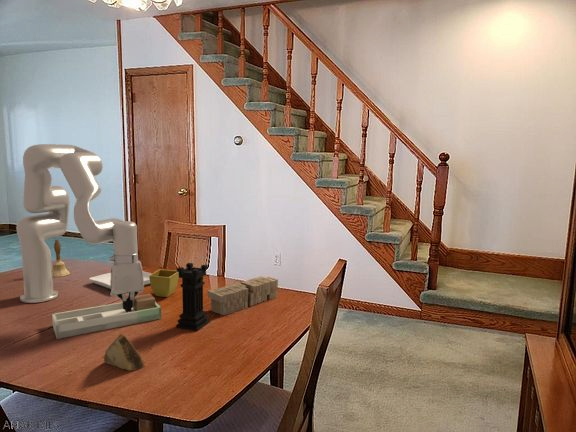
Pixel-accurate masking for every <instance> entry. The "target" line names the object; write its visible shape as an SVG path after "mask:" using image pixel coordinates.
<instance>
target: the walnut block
mask: <svg viewBox="0 0 576 432" xmlns="http://www.w3.org/2000/svg"><path fill="white" fill-rule="evenodd" d="M155 302H156V298H155V297H154V296H153V295H152V294H151V293H146V294H140V295H139V294H137V295H136V296H135V297H134V299H133V309H134V310H135V311H140V310H145V309H151V308H155Z"/></svg>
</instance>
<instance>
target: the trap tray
mask: <svg viewBox="0 0 576 432" xmlns="http://www.w3.org/2000/svg"><path fill="white" fill-rule="evenodd" d="M131 310H132V311H131V312H130V311H129V312H126V311H125V309H123V301H121V302H114V303H108V304H103V305H98V306H97V305H95V306H92V307H84V308H80V309H79V308H78V309H73V310H68V311H67V310H66V311H62V312H55V313H51V317H52V318H51V319H52V323H51V324H52V327H53V331H54V333H55V334H54V335H55V338H56V340H58V339H63V338H68V337H74V336H80V335H85V334H90V333H93V332H94V333H95V332H100V331H104V330H110V329H115V328H119V327H125V326H131V325H135V324H140V323H145V322H151V321H155V320H161V319H162V307H161V305H159V304H158V303H157V301H155V308H151V309H145V310H140V311H135V310H134V309H133V308H131Z"/></svg>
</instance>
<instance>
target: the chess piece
mask: <svg viewBox="0 0 576 432" xmlns="http://www.w3.org/2000/svg"><path fill="white" fill-rule="evenodd" d="M208 268H209V266H208V264H202V265H201V266H200V267H196V266H194V263H193V262H188V263H186V264H185V267H183V266H182V267H181V266H177V268H176V271H177V272H179V277H178V279H181V284H180V288H182V295H181V296H182V313H181V314H179V317H178V318H179V319H177V324H175V328H177V329H181V330H182V329H183V330H188V331H193V332H194V331H195V332H198V331H200V330H202V329H203V327H205V326H207V325H208V324H210V321H211V320H210V319H209V316H208V314H207V310H206V311H205V310H204V287H203V286H204V285H205V283H206V282H205V281H203V280H204V276H207V270H208Z"/></svg>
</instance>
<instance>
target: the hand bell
mask: <svg viewBox="0 0 576 432" xmlns="http://www.w3.org/2000/svg"><path fill="white" fill-rule="evenodd" d="M53 246H54V247H53V248H54V252H55V259H56V261H55V262H53V265H52V278H62V277H66V276H69V275H71V273H70V271H69V270H68V269H67V268H66V265H65V262H64V261H62V259H61V248H62V246H61V243H60V240H59V239H55V240H54V244H53Z"/></svg>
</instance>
